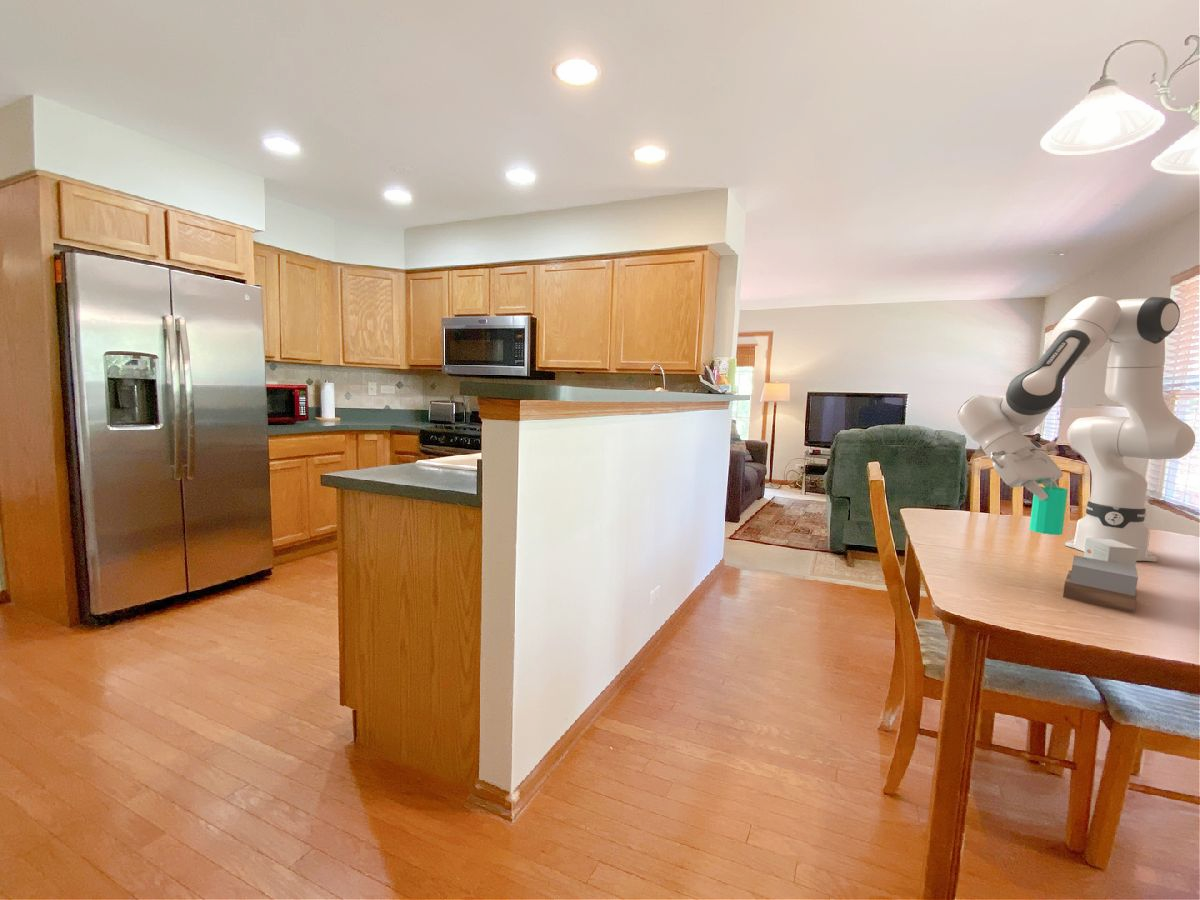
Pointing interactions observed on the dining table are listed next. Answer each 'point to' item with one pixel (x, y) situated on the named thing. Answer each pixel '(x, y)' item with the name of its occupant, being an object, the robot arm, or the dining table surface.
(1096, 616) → the dining table surface
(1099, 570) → the tower top
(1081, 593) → the tower base
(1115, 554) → the small box
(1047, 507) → the candle
